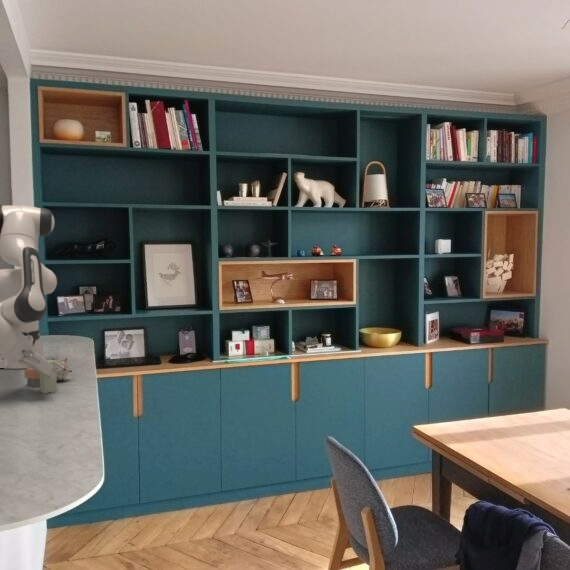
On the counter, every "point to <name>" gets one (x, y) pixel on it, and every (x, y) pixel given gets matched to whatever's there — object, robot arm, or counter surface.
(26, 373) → the terracotta brick
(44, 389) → the green block
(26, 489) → the counter surface
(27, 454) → the counter surface
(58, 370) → the game die
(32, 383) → the charcoal brick
